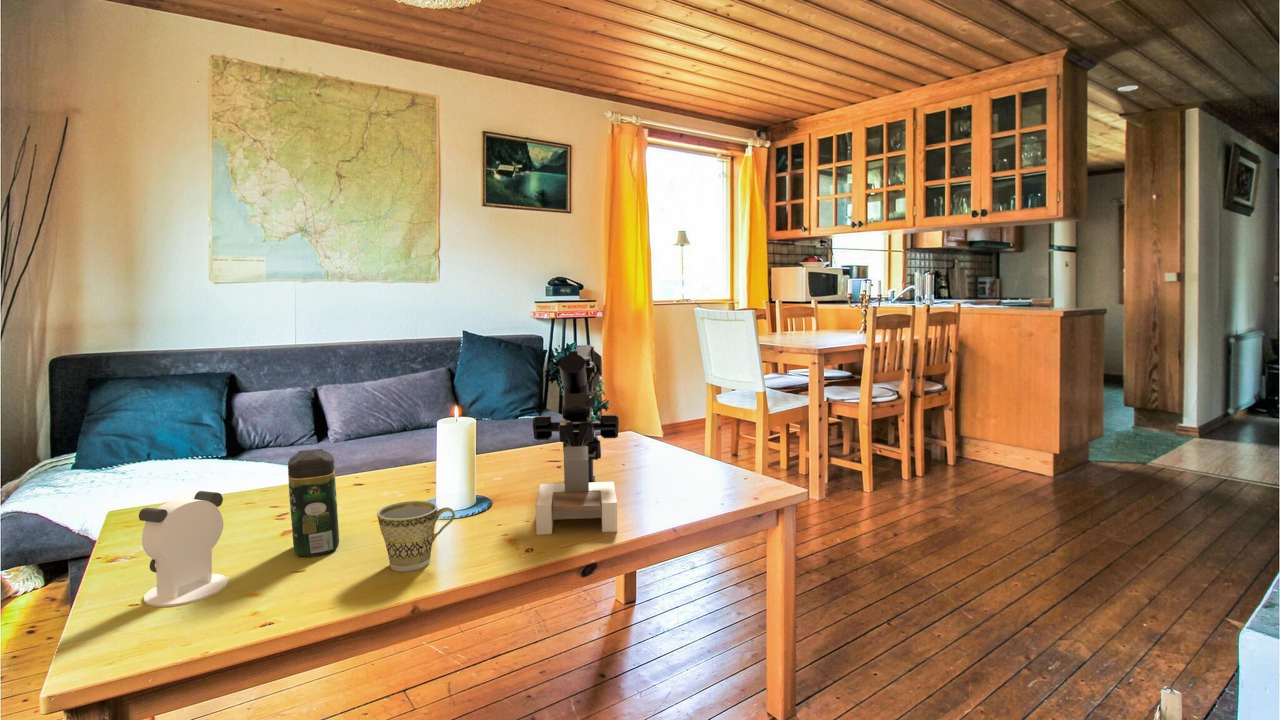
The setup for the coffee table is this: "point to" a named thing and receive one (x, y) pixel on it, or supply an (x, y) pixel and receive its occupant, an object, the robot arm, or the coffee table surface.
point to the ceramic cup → (410, 532)
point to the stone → (576, 469)
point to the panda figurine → (183, 549)
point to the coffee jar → (313, 502)
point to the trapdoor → (576, 501)
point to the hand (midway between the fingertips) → (576, 459)
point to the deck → (605, 512)
